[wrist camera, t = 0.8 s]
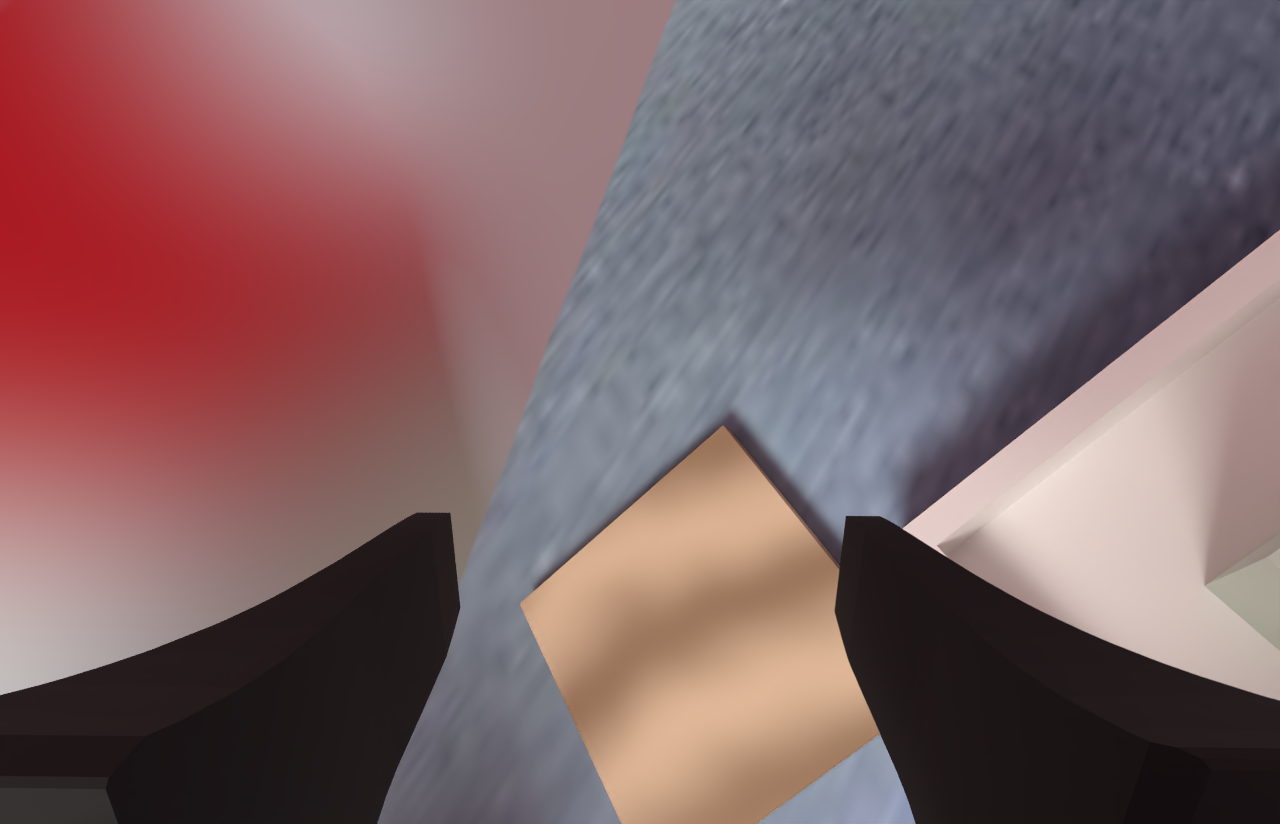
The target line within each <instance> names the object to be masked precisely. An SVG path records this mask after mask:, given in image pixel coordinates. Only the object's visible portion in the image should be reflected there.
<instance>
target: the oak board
mask: <svg viewBox="0 0 1280 824" xmlns="http://www.w3.org/2000/svg"><path fill="white" fill-rule="evenodd" d="M839 570H840V565H839V564H838V563H837V562H836V560H835V559H834V558H833V557H832V555H831V554H830V553H829V552H828V550H827V549H826V548H825V547H824V545H823V544H822V543H821V542H820V541H819V539H818V538H817V537H816V536H815V534H814V533H813V532H812V531H811V529H810V528H809V527H808V526H807V524H806V523H805V522H804V521H803V519H802V518H801V517H800V516H799V515H798V513H797V512H796V511H795V510H794V508H793V507H792V506H791V505H790V503H789V502H788V501H787V500H786V498H785V497H784V496H783V495H782V493H781V492H780V491H779V490H778V489H777V487H776V486H775V485H774V484H773V482H772V481H771V480H770V479H769V477H768V476H767V475H766V474H765V472H764V471H763V470H762V469H761V467H760V466H759V465H758V464H757V463H756V461H755V460H754V459H753V458H752V456H751V455H750V454H749V453H748V451H747V450H746V449H745V448H744V446H743V445H742V444H741V443H740V441H739V440H738V439H737V438H736V437H735V435H734V434H733V433H732V432H731V431H730V430H729V429H727V428H726V427H725V426H722V427H720V428H719V429H718V430H717V431H716V432H715V433H714V434H712V435H711V436H710V437H709V438H708V439H707V440H706V441H704V442H703V443H702V444H701V445H700V446H699V447H698V448H696V449H695V450H694V451H693V452H692V453H691V454H690V455H689V456H687V457H686V458H685V459H684V460H683V461H682V462H681V463H679V464H678V465H677V466H676V467H675V468H674V469H673V470H671V471H670V472H669V473H668V474H667V475H666V476H665V477H663V478H662V479H661V480H660V481H659V482H658V483H657V484H655V485H654V486H653V487H652V488H651V489H650V490H649V491H648V492H646V493H645V494H644V495H643V496H642V497H641V498H640V499H638V500H637V501H636V502H635V503H634V504H633V505H632V506H630V507H629V508H628V509H627V510H626V511H625V512H624V513H622V514H621V515H620V516H619V517H618V518H617V519H616V520H614V521H613V522H612V523H611V524H610V525H609V526H608V527H606V528H605V529H604V530H603V531H602V532H601V533H600V534H599V535H597V536H596V537H595V538H594V539H593V540H592V541H591V542H589V543H588V544H587V545H586V546H585V547H584V548H583V549H581V550H580V551H579V552H578V553H577V554H576V555H575V556H573V557H572V558H571V559H570V560H569V561H568V562H567V563H565V564H564V565H563V566H562V567H561V568H560V569H559V570H558V571H556V572H555V573H554V574H553V575H552V576H551V577H550V578H548V579H547V580H546V581H545V582H544V583H543V584H542V585H540V586H539V587H538V588H537V589H536V590H535V591H534V592H532V593H531V594H530V595H529V596H528V597H527V598H526V599H524V600H523V601H522V602H521V603H520V606H521V608H522V610H523V612H524V614H525V617H526V619H527V621H528V623H529V625H530V627H531V629H532V632H533V634H534V636H535V638H536V640H537V642H538V645H539V647H540V649H541V651H542V653H543V655H544V657H545V660H546V662H547V664H548V666H549V668H550V670H551V673H552V675H553V677H554V679H555V681H556V683H557V686H558V688H559V690H560V692H561V694H562V696H563V698H564V701H565V703H566V705H567V707H568V709H569V711H570V714H571V716H572V718H573V720H574V722H575V724H576V726H577V729H578V731H579V733H580V735H581V737H582V739H583V742H584V744H585V746H586V748H587V750H588V752H589V755H590V757H591V759H592V761H593V763H594V765H595V767H596V770H597V772H598V774H599V776H600V778H601V780H602V783H603V785H604V787H605V789H606V791H607V793H608V795H609V798H610V800H611V802H612V804H613V806H614V808H615V811H616V813H617V815H618V817H619V819H620V821H621V823H622V824H757V823H759V822H760V821H761V820H763V819H764V818H765V817H767V816H768V815H770V814H771V813H772V812H774V811H775V810H776V809H778V808H779V807H781V806H782V805H783V804H785V803H786V802H787V801H789V800H790V799H792V798H793V797H794V796H796V795H797V794H798V793H800V792H801V791H802V790H804V789H805V788H807V787H808V786H809V785H811V784H812V783H813V782H815V781H816V780H818V779H819V778H820V777H822V776H823V775H824V774H826V773H827V772H829V771H830V770H831V769H833V768H834V767H835V766H837V765H838V764H840V763H841V762H842V761H844V760H845V759H846V758H848V757H849V756H850V755H852V754H853V753H855V752H856V751H857V750H859V749H860V748H861V747H863V746H864V745H866V744H867V743H868V742H870V741H871V740H872V739H874V738H875V737H877V736H878V735H879V734H880V732H879V730H878V728H877V726H876V723H875V721H874V719H873V717H872V714H871V712H870V710H869V708H868V705H867V703H866V701H865V698H864V696H863V694H862V692H861V689H860V687H859V685H858V682H857V680H856V678H855V675H854V673H853V671H852V668H851V666H850V663H849V661H848V658H847V655H846V651H845V648H844V645H843V641H842V638H841V634H840V630H839V627H838V623H837V619H836V615H835V612H834V610H835V602H836V594H837V586H838V578H839Z"/></svg>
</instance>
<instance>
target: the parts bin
mask: <svg viewBox="0 0 1280 824" xmlns="http://www.w3.org/2000/svg"><path fill="white" fill-rule="evenodd" d="M903 530H905V531H907V532H908V533H910V534H911V535H913V536H915V537H916V538H918V539H919V540H921V541H922V542H924V543H926V544H927V545H929V546H930V547H932V548H933V549H935V550H937V551H938V552H940V553H941V554H943V555H944V556H946V557H948V558H949V559H951V560H952V561H954V562H956V563H957V564H959V565H960V566H962V567H964V568H965V569H967V570H969V571H970V572H972V573H973V574H975V575H977V576H979V577H980V578H982V579H984V580H985V581H987V582H989V583H990V584H992V585H994V586H996V587H998V588H999V589H1001V590H1003V591H1005V592H1007V593H1008V594H1010V595H1012V596H1014V597H1016V598H1017V599H1019V600H1021V601H1023V602H1025V603H1027V604H1028V605H1030V606H1032V607H1034V608H1036V609H1038V610H1040V611H1042V612H1044V613H1046V614H1048V615H1051V616H1053V617H1055V618H1057V619H1059V620H1061V621H1063V622H1065V623H1068V624H1070V625H1072V626H1074V627H1076V628H1078V629H1080V630H1082V631H1085V632H1087V633H1089V634H1091V635H1094V636H1096V637H1098V638H1101V639H1103V640H1105V641H1108V642H1110V643H1113V644H1115V645H1118V646H1120V647H1123V648H1125V649H1128V650H1130V651H1133V652H1136V653H1138V654H1141V655H1143V656H1146V657H1148V658H1151V659H1154V660H1156V661H1159V662H1161V663H1164V664H1167V665H1170V666H1173V667H1175V668H1178V669H1181V670H1184V671H1187V672H1190V673H1193V674H1196V675H1198V676H1201V677H1205V678H1208V679H1211V680H1214V681H1217V682H1220V683H1223V684H1227V685H1230V686H1233V687H1236V688H1239V689H1242V690H1246V691H1249V692H1252V693H1255V694H1258V695H1262V696H1265V697H1269V698H1272V699H1276V700H1280V651H1279V650H1278V649H1277V648H1276V647H1274V646H1273V645H1272V644H1271V643H1270V642H1269V641H1267V640H1266V639H1265V638H1264V637H1263V636H1262V635H1261V634H1259V633H1258V632H1257V631H1256V630H1255V629H1254V628H1252V627H1251V626H1250V625H1249V624H1248V623H1247V622H1246V621H1244V620H1243V619H1242V618H1241V617H1240V616H1239V615H1237V614H1236V613H1235V612H1234V611H1233V610H1232V609H1231V608H1229V607H1228V606H1227V605H1226V604H1225V603H1224V602H1222V601H1221V600H1220V599H1219V598H1218V597H1217V596H1215V595H1214V594H1213V593H1212V592H1211V591H1210V590H1209V589H1207V588H1206V587H1205V585H1206V584H1208V583H1209V582H1210V581H1212V580H1213V579H1215V578H1216V577H1218V576H1219V575H1220V574H1222V573H1223V572H1225V571H1226V570H1227V569H1229V568H1230V567H1232V566H1233V565H1235V564H1236V563H1237V562H1239V561H1240V560H1242V559H1243V558H1245V557H1246V556H1247V555H1249V554H1250V553H1252V552H1253V551H1255V550H1256V549H1257V548H1259V547H1260V546H1262V545H1263V544H1264V543H1266V542H1267V541H1269V540H1270V539H1272V538H1273V537H1274V536H1276V535H1277V534H1279V533H1280V230H1279V231H1278V232H1276V233H1275V234H1274V235H1273V236H1271V237H1270V238H1269V239H1268V240H1266V241H1265V242H1264V243H1263V244H1261V245H1260V246H1259V247H1258V248H1256V249H1255V250H1254V251H1252V252H1251V253H1250V254H1249V255H1247V256H1246V257H1245V258H1244V259H1242V260H1241V261H1240V262H1239V263H1237V264H1236V265H1235V266H1234V267H1232V268H1231V269H1230V270H1228V271H1227V272H1226V273H1225V274H1223V275H1222V276H1221V277H1220V278H1218V279H1217V280H1216V281H1215V282H1213V283H1212V284H1211V285H1210V286H1208V287H1207V288H1206V289H1204V290H1203V291H1202V292H1201V293H1199V294H1198V295H1197V296H1196V297H1194V298H1193V299H1192V300H1191V301H1189V302H1188V303H1187V304H1186V305H1184V306H1183V307H1182V308H1180V309H1179V310H1178V311H1177V312H1175V313H1174V314H1173V315H1172V316H1170V317H1169V318H1168V319H1167V320H1165V321H1164V322H1163V323H1162V324H1160V325H1159V326H1158V327H1156V328H1155V329H1154V330H1153V331H1151V332H1150V333H1149V334H1148V335H1146V336H1145V337H1144V338H1143V339H1141V340H1140V341H1139V342H1138V343H1136V344H1135V345H1134V346H1132V347H1131V348H1130V349H1129V350H1127V351H1126V352H1125V353H1124V354H1122V355H1121V356H1120V357H1119V358H1117V359H1116V360H1115V361H1114V362H1112V363H1111V364H1110V365H1108V366H1107V367H1106V368H1105V369H1103V370H1102V371H1101V372H1100V373H1098V374H1097V375H1096V376H1095V377H1093V378H1092V379H1091V380H1090V381H1088V382H1087V383H1086V384H1084V385H1083V386H1082V387H1081V388H1079V389H1078V390H1077V391H1076V392H1074V393H1073V394H1072V395H1071V396H1069V397H1068V398H1067V399H1066V400H1064V401H1063V402H1062V403H1060V404H1059V405H1058V406H1057V407H1055V408H1054V409H1053V410H1052V411H1050V412H1049V413H1048V414H1047V415H1045V416H1044V417H1043V418H1042V419H1040V420H1039V421H1038V422H1036V423H1035V424H1034V425H1033V426H1031V427H1030V428H1029V429H1028V430H1026V431H1025V432H1024V433H1023V434H1021V435H1020V436H1019V437H1018V438H1016V439H1015V440H1014V441H1012V442H1011V443H1010V444H1009V445H1007V446H1006V447H1005V448H1004V449H1002V450H1001V451H1000V452H999V453H997V454H996V455H995V456H994V457H992V458H991V459H990V460H988V461H987V462H986V463H985V464H983V465H982V466H981V467H980V468H978V469H977V470H976V471H975V472H973V473H972V474H971V475H970V476H968V477H967V478H966V479H964V480H963V481H962V482H961V483H959V484H958V485H957V486H956V487H954V488H953V489H952V490H951V491H949V492H948V493H947V494H946V495H944V496H943V497H942V498H940V499H939V500H938V501H937V502H935V503H934V504H933V505H932V506H930V507H929V508H928V509H927V510H925V511H924V512H923V513H922V514H920V515H919V516H918V517H916V518H915V519H914V520H913V521H911V522H910V523H909V524H908V525H906V526H905V527H904V528H903Z"/></svg>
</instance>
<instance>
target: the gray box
mask: <svg viewBox="0 0 1280 824" xmlns="http://www.w3.org/2000/svg"><path fill="white" fill-rule="evenodd" d="M1205 587H1206V588H1207V589H1209V590H1210V591H1211V592H1212V593H1213V594H1214V595H1215V596H1217V597H1218V598H1219V599H1220V600H1221V601H1222V602H1224V603H1225V604H1226V605H1227V606H1228V607H1229V608H1231V609H1232V610H1233V611H1234V612H1235V613H1236V614H1237V615H1239V616H1240V617H1241V618H1242V619H1243V620H1244V621H1246V622H1247V623H1248V624H1249V625H1250V626H1251V627H1252V628H1254V629H1255V630H1256V631H1257V632H1258V633H1259V634H1261V635H1262V636H1263V637H1264V638H1265V639H1266V640H1267V641H1269V642H1270V643H1271V644H1272V645H1273V646H1274V647H1276V648H1277V649H1278V650H1279V651H1280V533H1279V534H1277V535H1276V536H1274V537H1273V538H1272V539H1270V540H1269V541H1267V542H1266V543H1264V544H1263V545H1262V546H1260V547H1259V548H1257V549H1256V550H1255V551H1253V552H1252V553H1250V554H1249V555H1247V556H1246V557H1245V558H1243V559H1242V560H1240V561H1239V562H1237V563H1236V564H1235V565H1233V566H1232V567H1230V568H1229V569H1227V570H1226V571H1225V572H1223V573H1222V574H1220V575H1219V576H1218V577H1216V578H1215V579H1213V580H1212V581H1210V582H1209V583H1208V584H1206V585H1205Z"/></svg>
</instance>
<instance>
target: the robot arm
mask: <svg viewBox="0 0 1280 824" xmlns="http://www.w3.org/2000/svg"><path fill="white" fill-rule="evenodd" d="M459 610H460V601H459V591H458V582H457V573H456V563H455V553H454V544H453V534H452V524H451V516H450V513H416V514H413V515H411V516H409V517H407V518H406V519H404V520H403V521H401V522H399V523H397V524H396V525H394V526H392V527H391V528H389V529H388V530H386V531H384V532H383V533H381V534H380V535H378V536H376V537H375V538H373V539H372V540H370V541H369V542H367V543H365V544H364V545H362V546H361V547H359V548H358V549H356V550H354V551H353V552H351V553H349V554H348V555H346V556H345V557H343V558H342V559H340V560H338V561H337V562H335V563H333V564H332V565H330V566H328V567H326V568H324V569H323V570H321V571H319V572H317V573H316V574H314V575H312V576H311V577H309V578H307V579H305V580H304V581H302V582H300V583H298V584H297V585H295V586H293V587H291V588H290V589H288V590H286V591H284V592H282V593H280V594H278V595H276V596H275V597H273V598H271V599H269V600H267V601H265V602H263V603H261V604H259V605H257V606H255V607H253V608H250V609H248V610H246V611H244V612H242V613H240V614H238V615H235V616H233V617H231V618H229V619H227V620H224V621H222V622H220V623H218V624H215V625H213V626H210V627H208V628H205V629H203V630H200V631H198V632H195V633H193V634H190V635H188V636H185V637H183V638H180V639H177V640H175V641H173V642H170V643H168V644H165V645H162V646H160V647H157V648H155V649H152V650H149V651H147V652H144V653H141V654H138V655H135V656H132V657H129V658H126V659H123V660H120V661H117V662H114V663H112V664H109V665H105V666H102V667H99V668H96V669H93V670H90V671H86V672H83V673H80V674H77V675H73V676H70V677H67V678H63V679H60V680H56V681H53V682H49V683H46V684H42V685H39V686H35V687H31V688H27V689H23V690H19V691H15V692H11V693H8V694H3V695H0V824H377V822H378V819H379V816H380V813H381V810H382V807H383V804H384V801H385V798H386V795H387V792H388V790H389V787H390V785H391V782H392V780H393V777H394V775H395V772H396V769H397V767H398V765H399V763H400V760H401V758H402V756H403V754H404V751H405V749H406V747H407V745H408V742H409V740H410V738H411V736H412V733H413V731H414V729H415V727H416V724H417V722H418V720H419V718H420V716H421V713H422V711H423V709H424V707H425V704H426V702H427V700H428V698H429V695H430V693H431V691H432V689H433V686H434V684H435V682H436V679H437V677H438V675H439V672H440V670H441V668H442V666H443V663H444V661H445V658H446V656H447V653H448V649H449V646H450V643H451V639H452V636H453V633H454V629H455V625H456V621H457V618H458V614H459ZM834 612H835V615H836V619H837V623H838V627H839V630H840V634H841V638H842V641H843V645H844V648H845V651H846V655H847V658H848V661H849V663H850V666H851V668H852V671H853V673H854V675H855V678H856V680H857V682H858V685H859V687H860V689H861V692H862V694H863V696H864V698H865V701H866V703H867V705H868V708H869V710H870V712H871V714H872V717H873V719H874V721H875V723H876V726H877V728H878V730H879V732H880V735H881V737H882V739H883V741H884V744H885V746H886V748H887V750H888V753H889V755H890V757H891V760H892V762H893V764H894V766H895V769H896V771H897V773H898V776H899V778H900V781H901V783H902V786H903V788H904V791H905V793H906V796H907V799H908V801H909V804H910V807H911V810H912V814H913V817H914V820H915V823H916V824H1280V700H1276V699H1272V698H1269V697H1265V696H1262V695H1258V694H1255V693H1252V692H1249V691H1246V690H1242V689H1239V688H1236V687H1233V686H1230V685H1227V684H1223V683H1220V682H1217V681H1214V680H1211V679H1208V678H1205V677H1201V676H1198V675H1196V674H1193V673H1190V672H1187V671H1184V670H1181V669H1178V668H1175V667H1173V666H1170V665H1167V664H1164V663H1161V662H1159V661H1156V660H1154V659H1151V658H1148V657H1146V656H1143V655H1141V654H1138V653H1136V652H1133V651H1130V650H1128V649H1125V648H1123V647H1120V646H1118V645H1115V644H1113V643H1110V642H1108V641H1105V640H1103V639H1101V638H1098V637H1096V636H1094V635H1091V634H1089V633H1087V632H1085V631H1082V630H1080V629H1078V628H1076V627H1074V626H1072V625H1070V624H1068V623H1065V622H1063V621H1061V620H1059V619H1057V618H1055V617H1053V616H1051V615H1048V614H1046V613H1044V612H1042V611H1040V610H1038V609H1036V608H1034V607H1032V606H1030V605H1028V604H1027V603H1025V602H1023V601H1021V600H1019V599H1017V598H1016V597H1014V596H1012V595H1010V594H1008V593H1007V592H1005V591H1003V590H1001V589H999V588H998V587H996V586H994V585H992V584H990V583H989V582H987V581H985V580H984V579H982V578H980V577H979V576H977V575H975V574H973V573H972V572H970V571H969V570H967V569H965V568H964V567H962V566H960V565H959V564H957V563H956V562H954V561H952V560H951V559H949V558H948V557H946V556H944V555H943V554H941V553H940V552H938V551H937V550H935V549H933V548H932V547H930V546H929V545H927V544H926V543H924V542H922V541H921V540H919V539H918V538H916V537H915V536H913V535H911V534H910V533H908V532H907V531H905V530H903V529H902V528H900V527H899V526H897V525H895V524H894V523H892V522H890V521H888V520H886V519H884V518H882V517H880V516H846V521H845V529H844V537H843V545H842V553H841V562H840V570H839V578H838V586H837V594H836V602H835V610H834Z"/></svg>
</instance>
